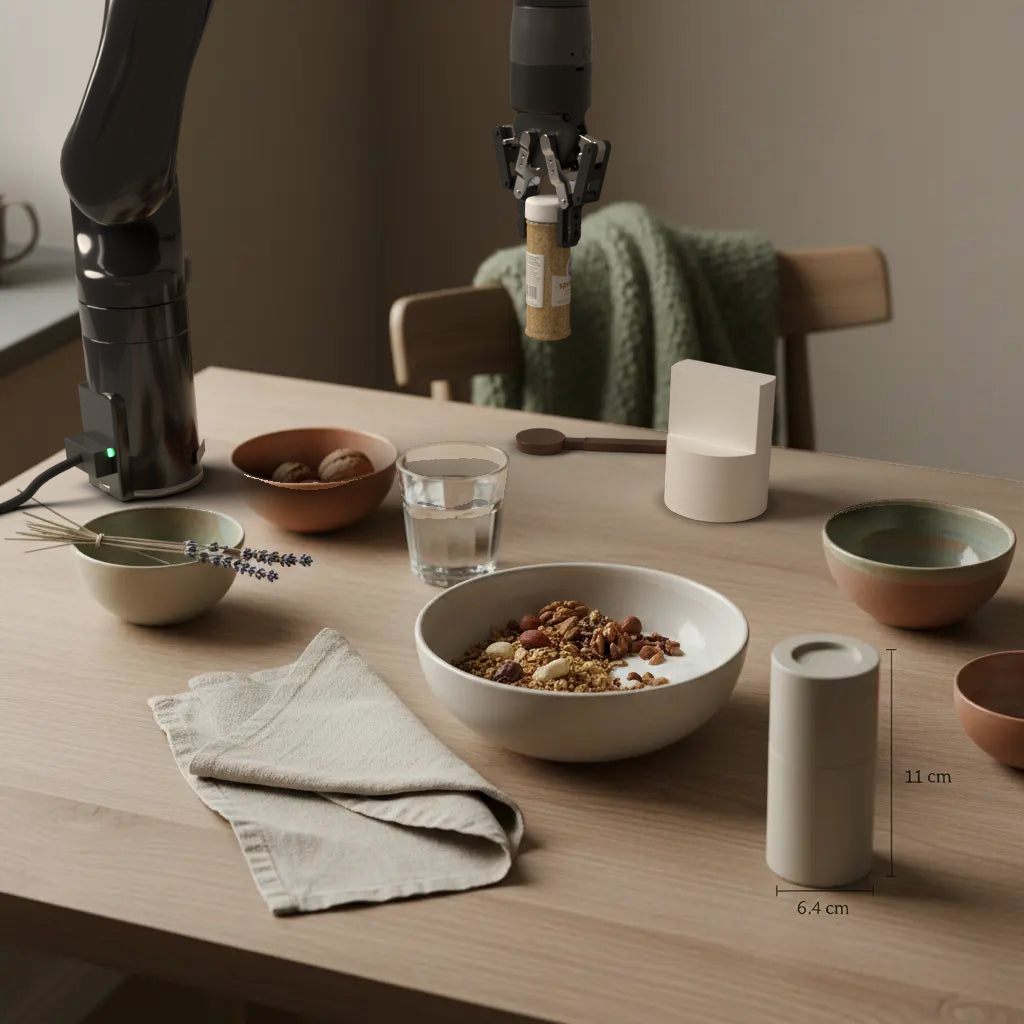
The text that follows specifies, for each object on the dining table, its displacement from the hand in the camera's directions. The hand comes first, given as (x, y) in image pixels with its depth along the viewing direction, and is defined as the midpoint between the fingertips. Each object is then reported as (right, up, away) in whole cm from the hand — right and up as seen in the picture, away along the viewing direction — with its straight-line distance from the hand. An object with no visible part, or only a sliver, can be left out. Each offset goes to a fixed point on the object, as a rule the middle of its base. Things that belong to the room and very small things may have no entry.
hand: (548, 241), depth 144 cm
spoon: (+5, -20, +1) cm, 21 cm away
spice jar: (0, -9, +4) cm, 10 cm away
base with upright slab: (+14, -25, -11) cm, 31 cm away
